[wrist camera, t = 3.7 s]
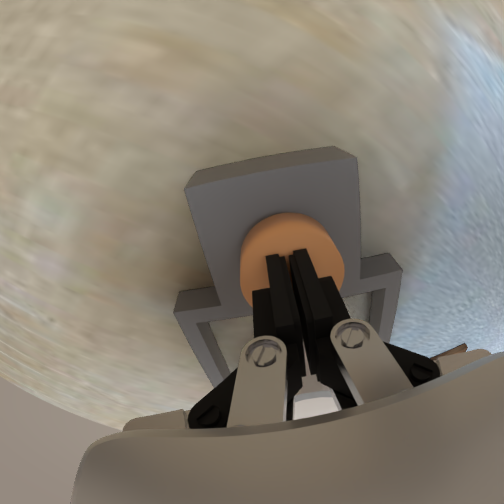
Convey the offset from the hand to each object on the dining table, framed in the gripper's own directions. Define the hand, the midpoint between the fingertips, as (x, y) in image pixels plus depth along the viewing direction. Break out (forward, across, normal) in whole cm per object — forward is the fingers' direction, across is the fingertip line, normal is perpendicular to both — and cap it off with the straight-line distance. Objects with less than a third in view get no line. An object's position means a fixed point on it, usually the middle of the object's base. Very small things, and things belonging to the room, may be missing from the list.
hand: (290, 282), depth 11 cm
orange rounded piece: (+4, 0, 0) cm, 4 cm away
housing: (+6, 0, +8) cm, 10 cm away
